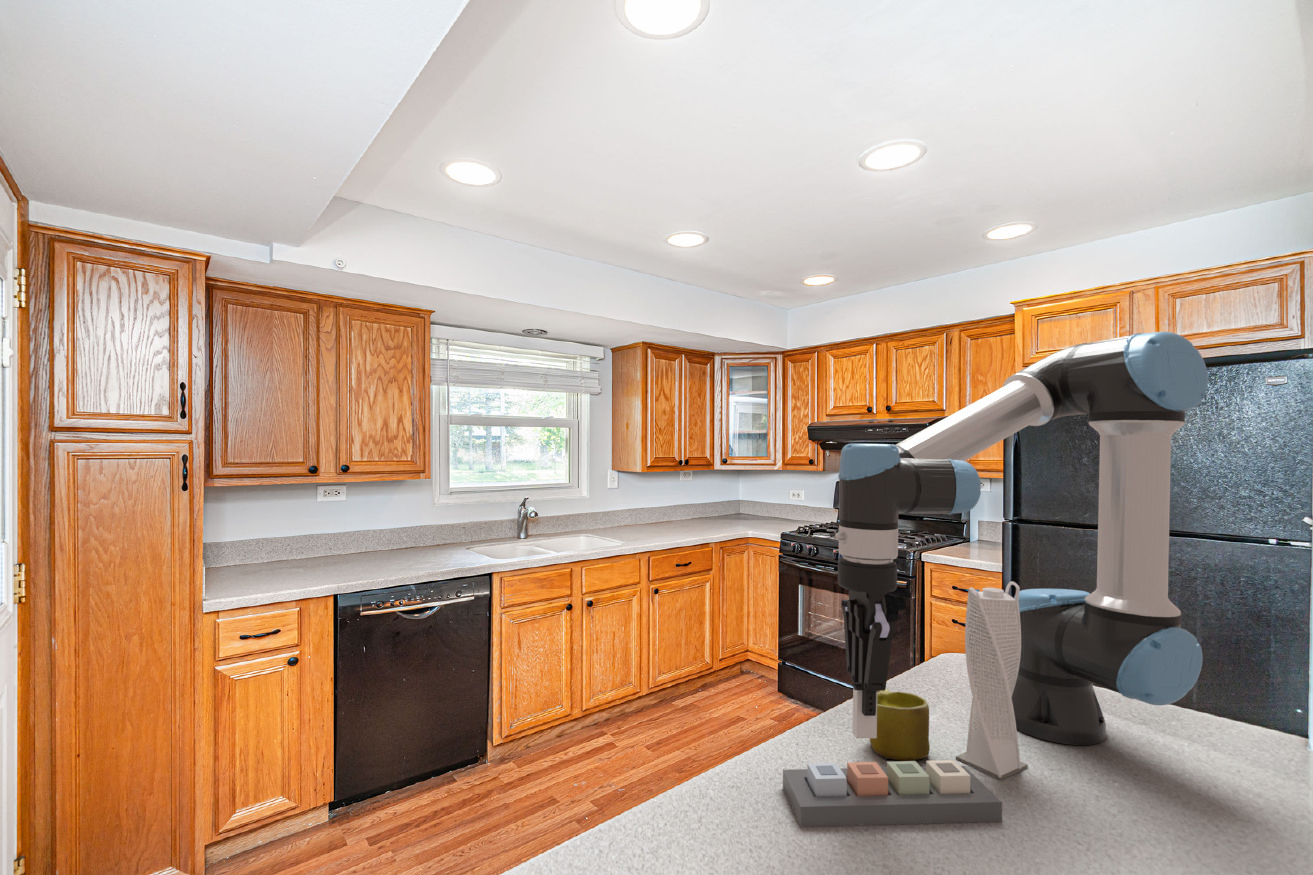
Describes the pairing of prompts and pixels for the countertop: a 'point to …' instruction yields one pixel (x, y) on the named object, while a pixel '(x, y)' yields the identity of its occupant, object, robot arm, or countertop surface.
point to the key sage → (907, 778)
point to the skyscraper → (993, 680)
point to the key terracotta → (867, 779)
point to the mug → (901, 726)
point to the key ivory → (948, 777)
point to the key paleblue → (826, 780)
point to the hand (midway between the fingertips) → (864, 735)
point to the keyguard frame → (889, 805)
